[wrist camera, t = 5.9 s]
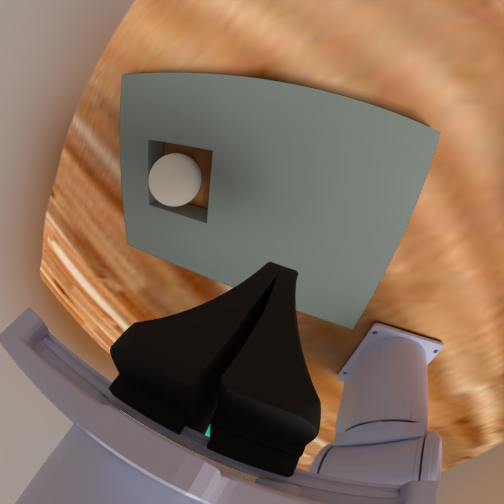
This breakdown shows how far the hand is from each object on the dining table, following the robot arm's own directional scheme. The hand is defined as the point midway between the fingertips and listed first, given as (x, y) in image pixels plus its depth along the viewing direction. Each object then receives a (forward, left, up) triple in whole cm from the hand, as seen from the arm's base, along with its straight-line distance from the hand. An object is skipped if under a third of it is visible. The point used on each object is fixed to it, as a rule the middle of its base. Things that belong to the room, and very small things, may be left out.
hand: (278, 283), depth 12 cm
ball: (0, +10, -7) cm, 12 cm away
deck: (0, +5, -9) cm, 10 cm away
